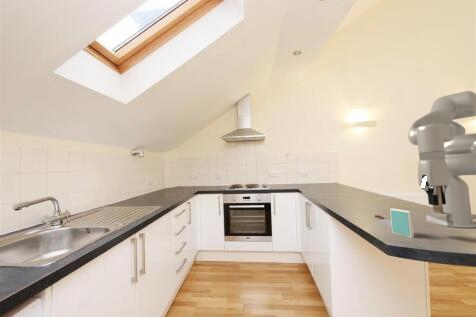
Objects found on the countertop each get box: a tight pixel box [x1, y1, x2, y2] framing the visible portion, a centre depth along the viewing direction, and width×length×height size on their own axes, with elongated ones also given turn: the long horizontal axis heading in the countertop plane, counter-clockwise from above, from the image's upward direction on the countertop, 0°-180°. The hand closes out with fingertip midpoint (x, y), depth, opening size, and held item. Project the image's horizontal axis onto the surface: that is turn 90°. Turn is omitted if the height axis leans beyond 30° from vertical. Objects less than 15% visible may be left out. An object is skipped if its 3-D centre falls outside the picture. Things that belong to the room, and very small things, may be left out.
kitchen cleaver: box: [374, 214, 392, 228], centre depth 112 cm, size 24×1×10 cm
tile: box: [389, 207, 415, 239], centre depth 90 cm, size 2×8×10 cm, turn 15°
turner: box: [425, 186, 453, 227], centre depth 84 cm, size 3×7×16 cm, turn 15°
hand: (437, 204), depth 84 cm, fingers closed on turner, 2 cm apart
